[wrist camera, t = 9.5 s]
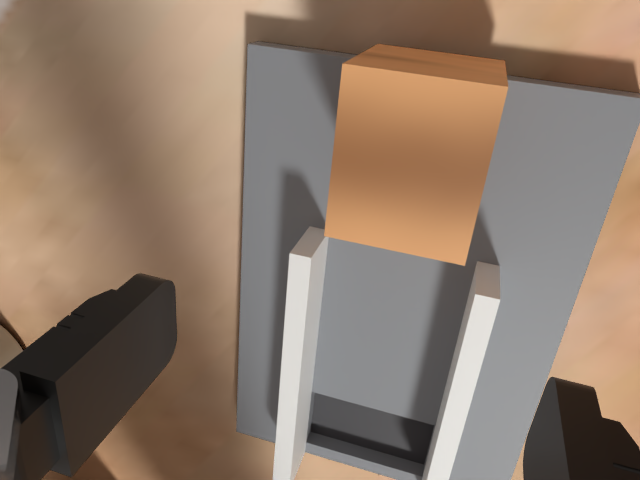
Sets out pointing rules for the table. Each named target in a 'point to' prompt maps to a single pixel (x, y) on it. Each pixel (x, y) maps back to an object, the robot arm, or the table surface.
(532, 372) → the channel
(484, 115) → the block
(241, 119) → the table surface
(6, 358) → the travel mug
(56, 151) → the table surface
